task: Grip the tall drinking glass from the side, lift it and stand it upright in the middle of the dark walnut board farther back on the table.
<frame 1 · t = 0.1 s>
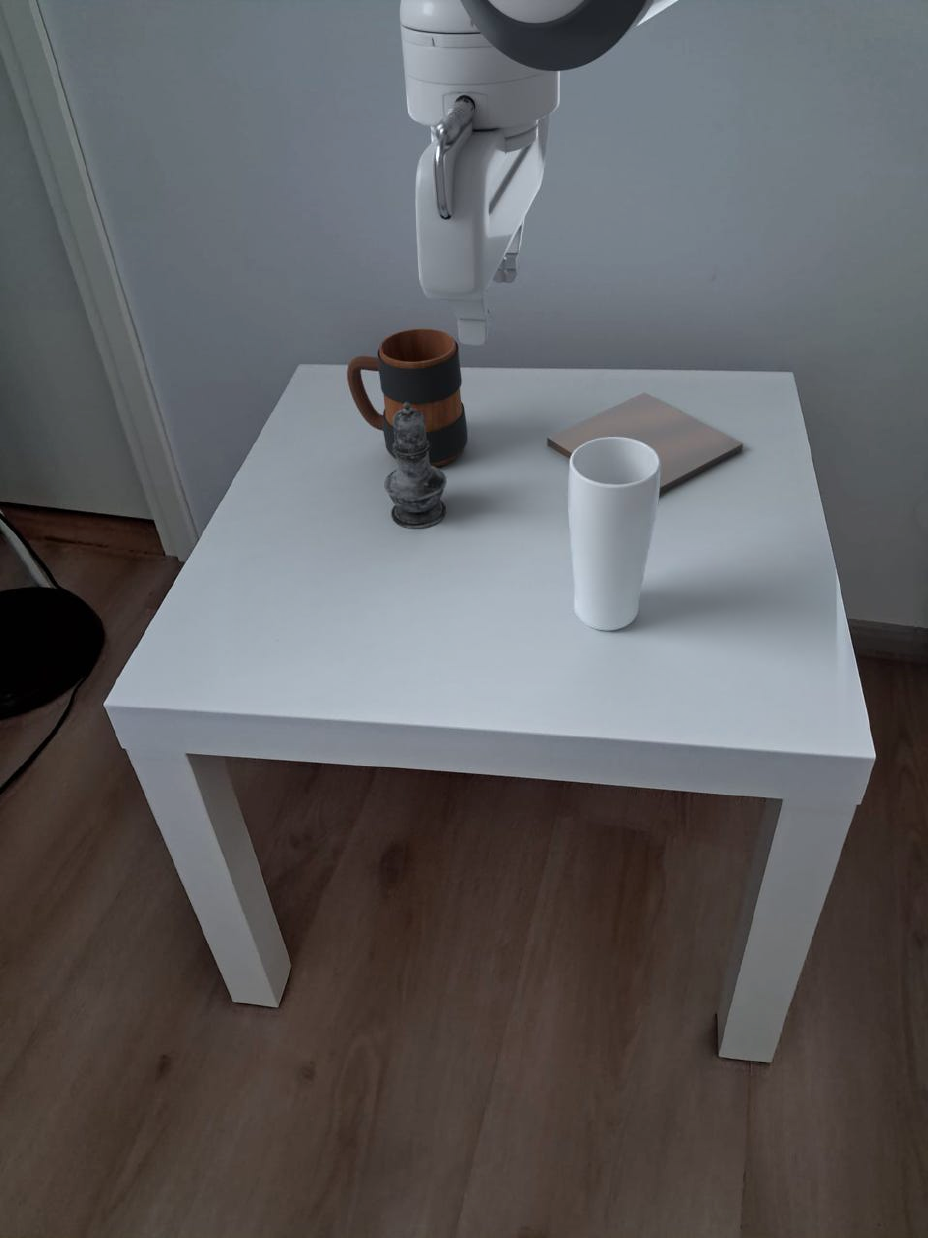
hand: (491, 308, 63), 26 cm above the table, tool pointing down, fingers open, 8 cm apart
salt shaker: (418, 513, 90), on the table
walnut board: (643, 447, 96), on the table
drinking glass: (605, 613, 79), on the table
mug: (412, 448, 99), on the table
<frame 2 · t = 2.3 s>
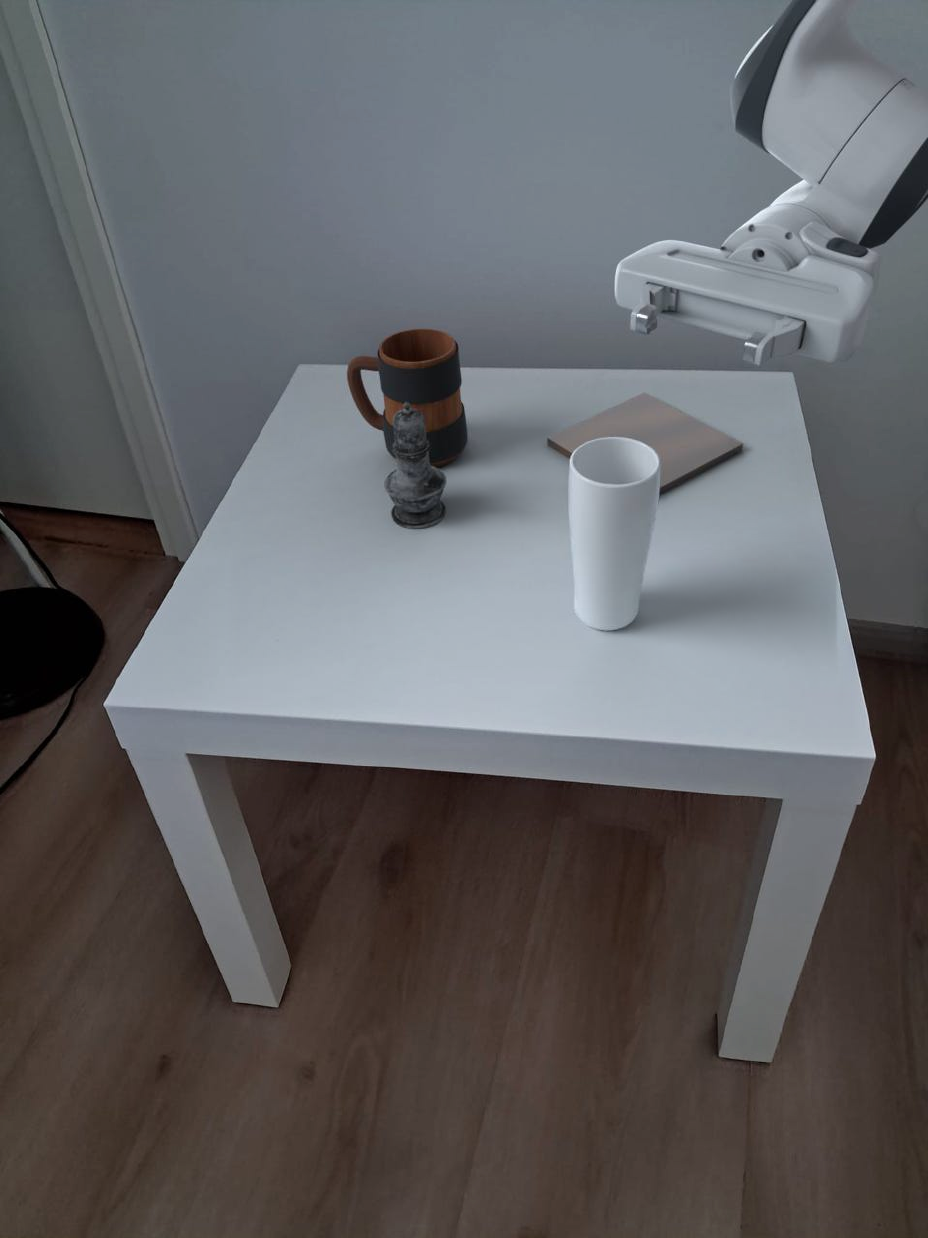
hand: (693, 339, 71), 20 cm above the table, tool horizontal, fingers open, 8 cm apart
nothing on the table moved.
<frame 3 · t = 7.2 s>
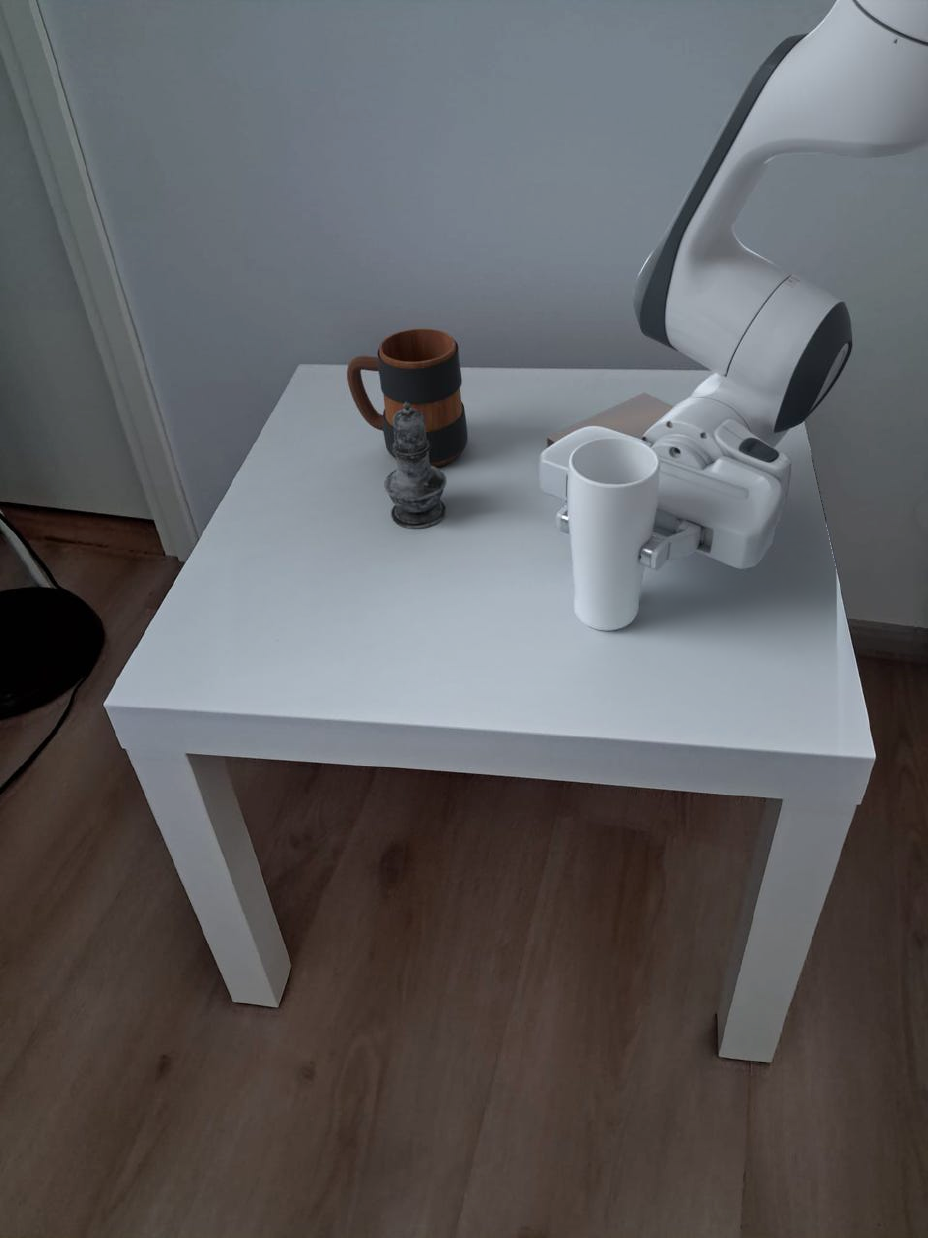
hand: (604, 542, 73), 8 cm above the table, tool horizontal, fingers closed on drinking glass, 6 cm apart
drinking glass: (605, 613, 79), on the table, touching gripper
everything else where it was.
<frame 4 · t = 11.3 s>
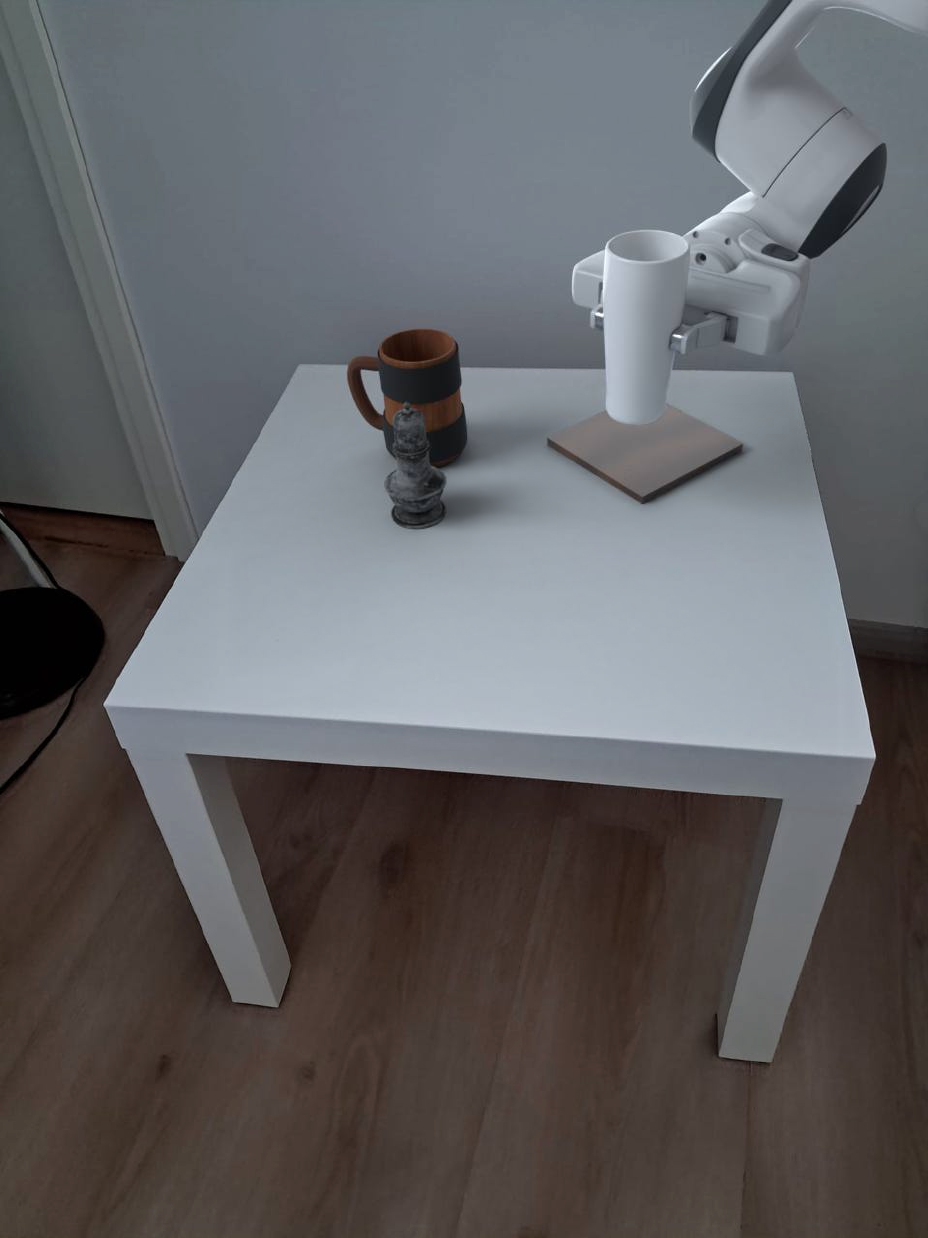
hand: (637, 333, 78), 17 cm above the table, tool horizontal, fingers closed on drinking glass, 6 cm apart
drinking glass: (635, 414, 84), point 9 cm above the table, touching gripper
everything else where it was.
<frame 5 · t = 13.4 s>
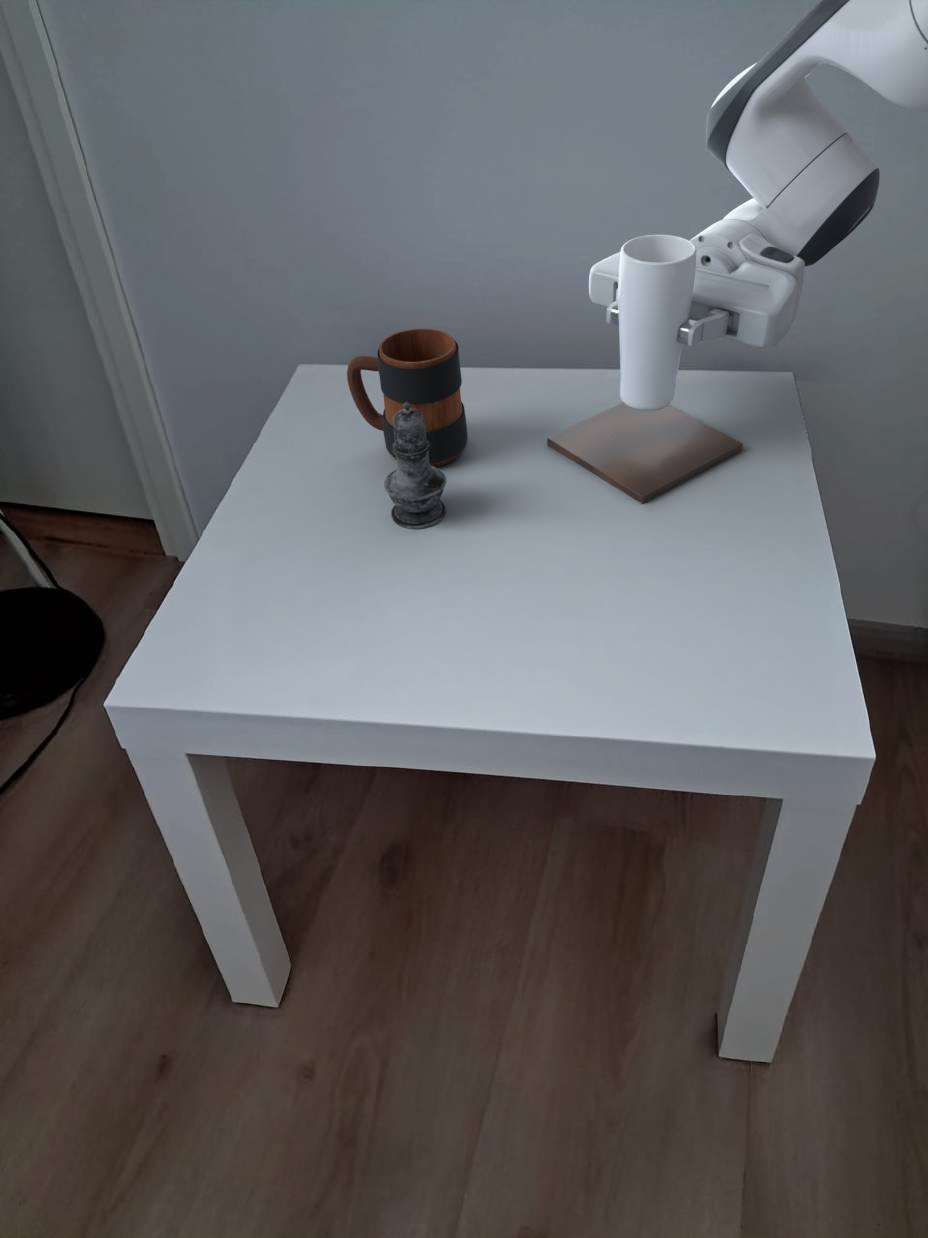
hand: (648, 327, 87), 13 cm above the table, tool horizontal, fingers closed on drinking glass, 6 cm apart
drinking glass: (646, 401, 93), point 5 cm above the table, touching gripper
everything else where it was.
when the fingers open (9 cm above the table, at t = 15.4 s): drinking glass stays where it is, resting on walnut board.
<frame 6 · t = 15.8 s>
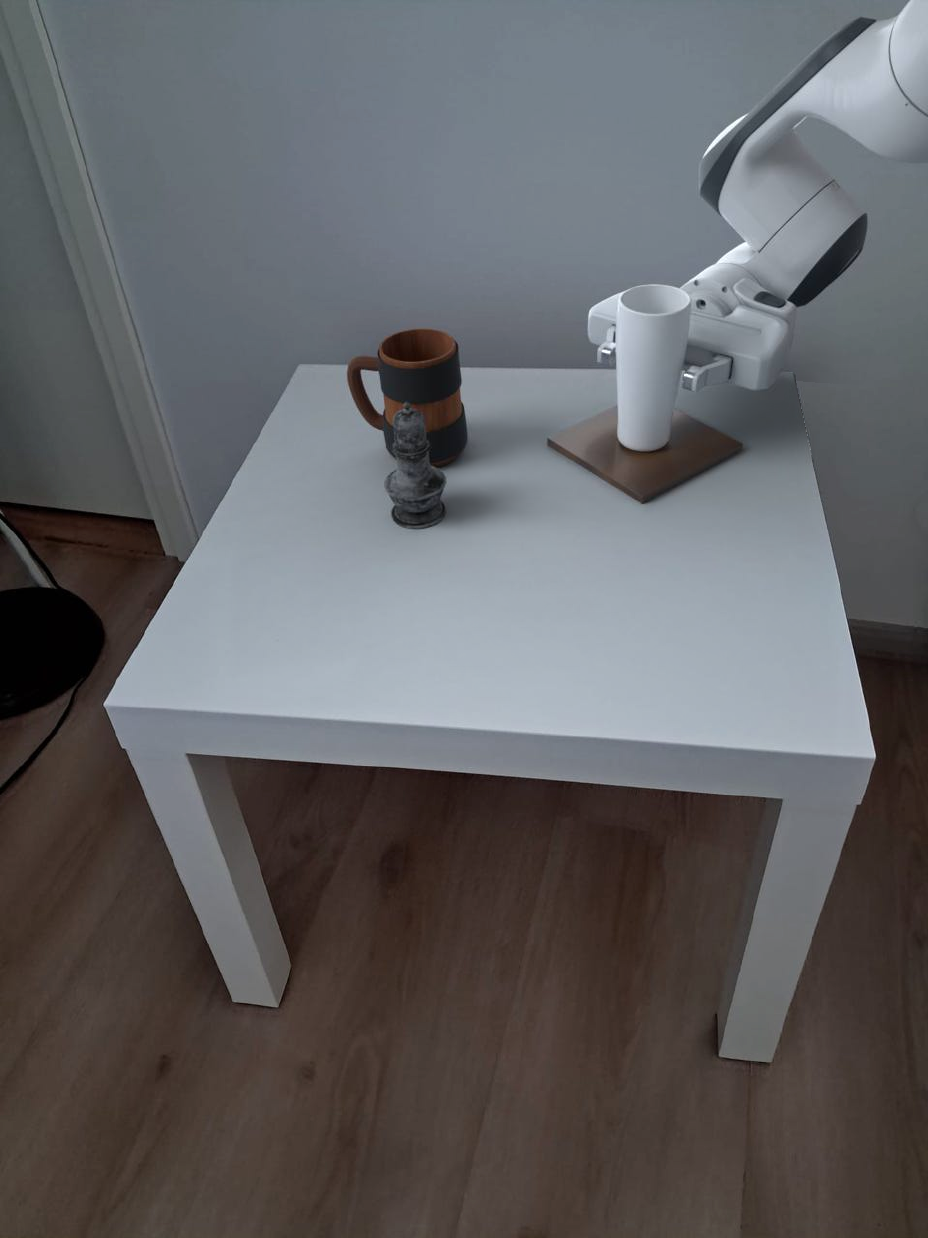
hand: (645, 370, 90), 9 cm above the table, tool horizontal, fingers open, 8 cm apart
drinking glass: (642, 441, 96), point 1 cm above the table, touching walnut board
everything else where it was.
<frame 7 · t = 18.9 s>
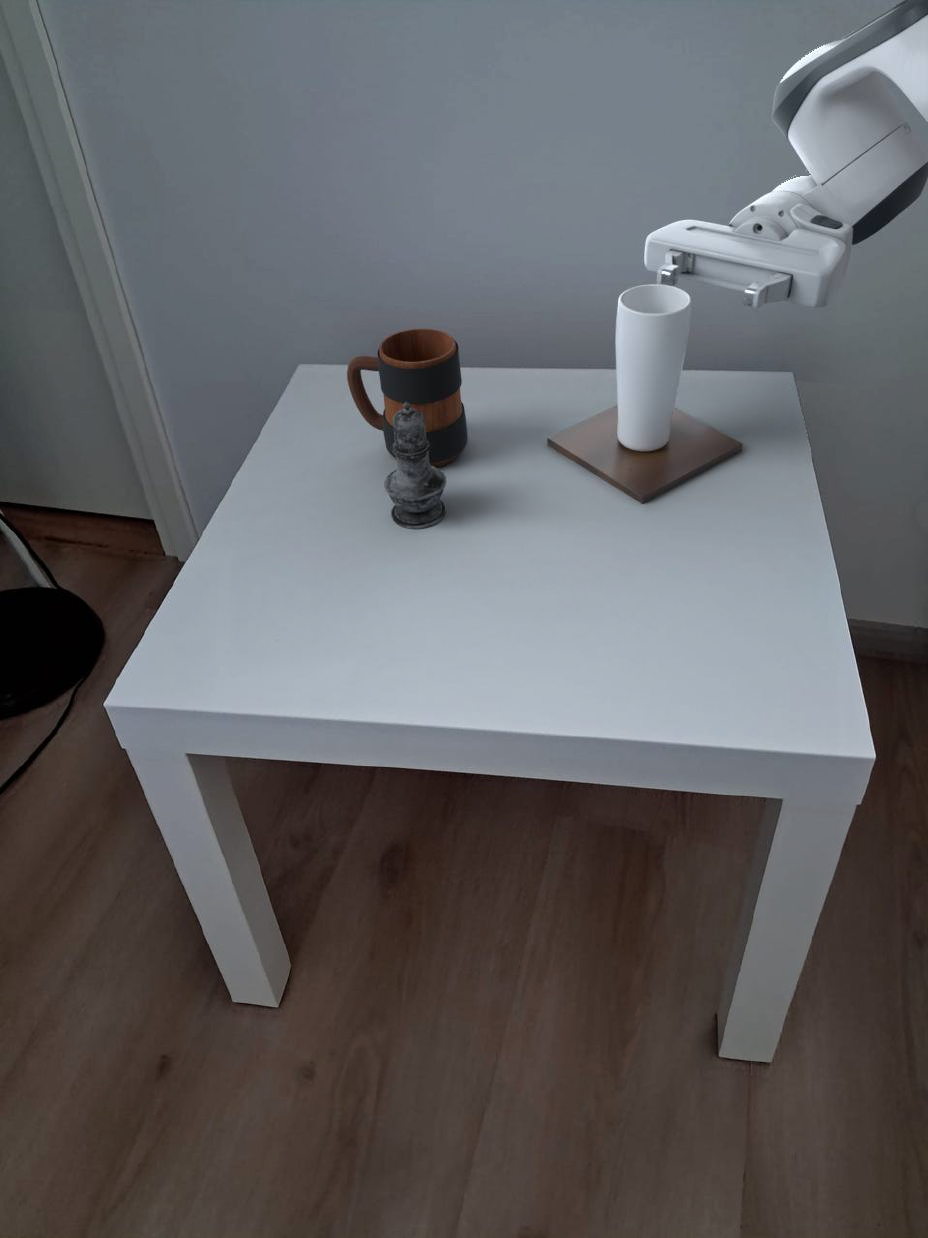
hand: (705, 288, 91), 14 cm above the table, tool horizontal, fingers open, 8 cm apart
nothing on the table moved.
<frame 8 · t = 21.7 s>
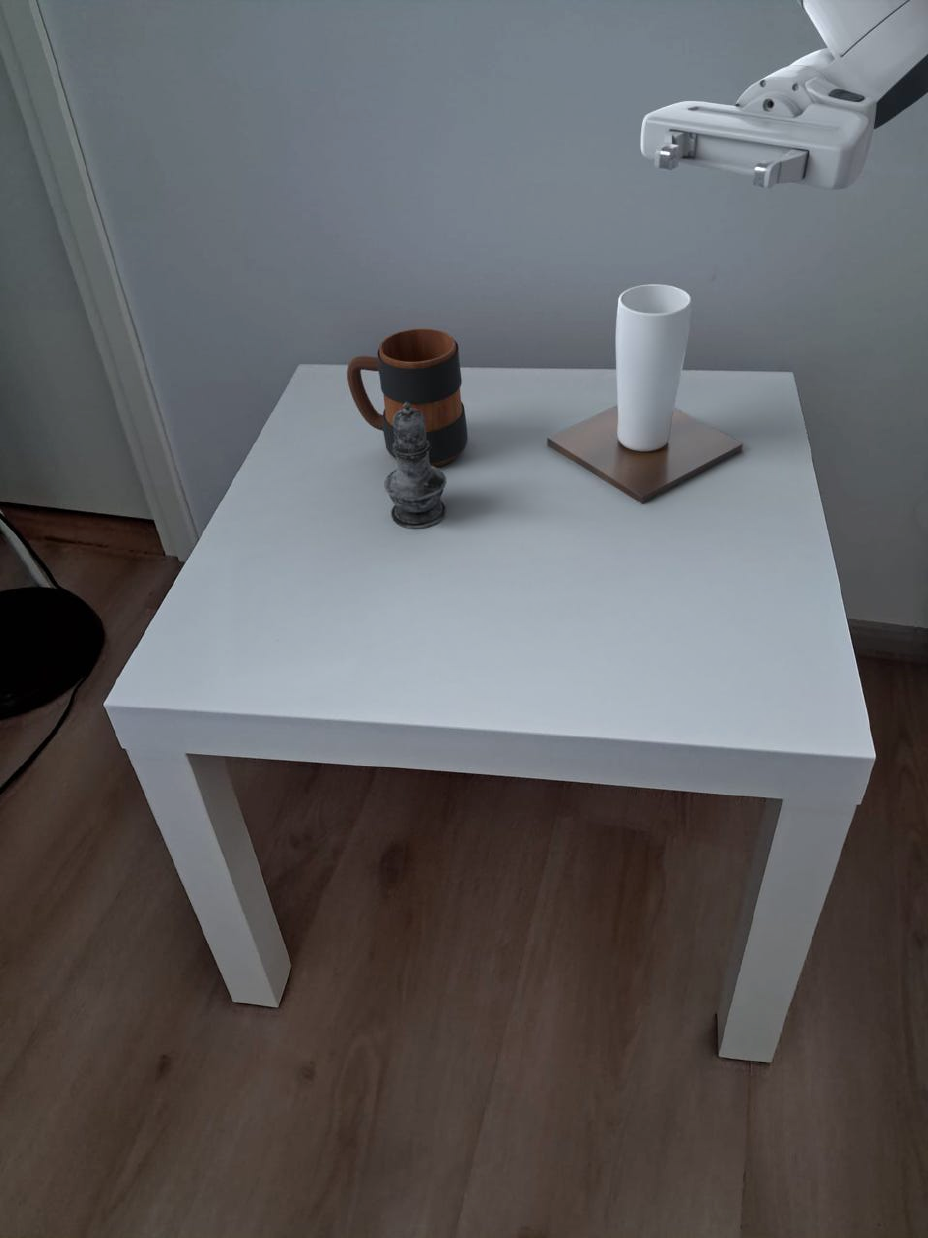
hand: (710, 168, 81), 26 cm above the table, tool horizontal, fingers open, 8 cm apart
nothing on the table moved.
at the end: drinking glass inside the target area on the walnut board (0.1 cm from its centre), point 0.6 cm above the walnut board's base; drinking glass tilted 0°; the gripper is holding nothing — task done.
